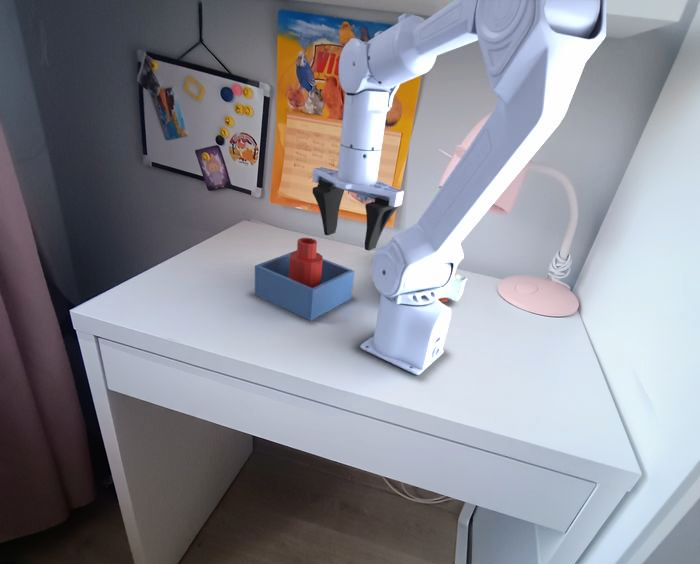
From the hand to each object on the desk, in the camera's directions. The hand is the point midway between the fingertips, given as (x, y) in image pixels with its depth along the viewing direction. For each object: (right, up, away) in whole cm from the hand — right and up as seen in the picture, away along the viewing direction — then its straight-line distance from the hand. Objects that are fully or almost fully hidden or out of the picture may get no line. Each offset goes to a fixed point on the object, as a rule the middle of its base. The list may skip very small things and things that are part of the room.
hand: (349, 241), depth 72 cm
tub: (-8, -8, +5) cm, 12 cm away
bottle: (-8, -7, +5) cm, 12 cm away
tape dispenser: (+12, -6, +13) cm, 19 cm away
